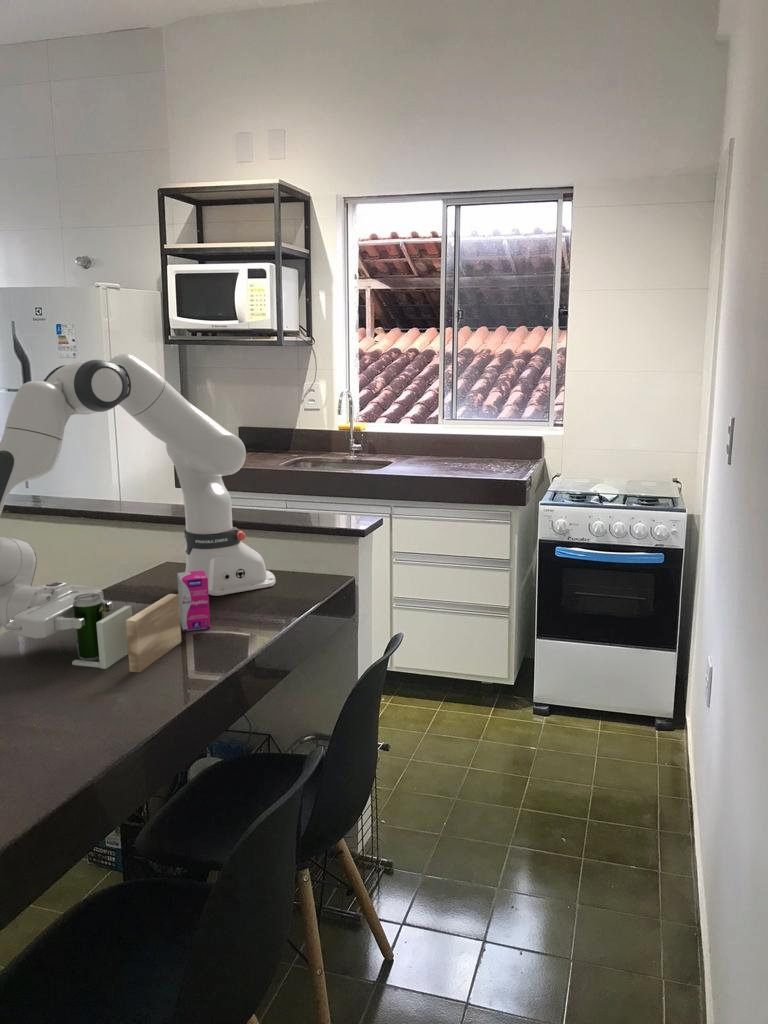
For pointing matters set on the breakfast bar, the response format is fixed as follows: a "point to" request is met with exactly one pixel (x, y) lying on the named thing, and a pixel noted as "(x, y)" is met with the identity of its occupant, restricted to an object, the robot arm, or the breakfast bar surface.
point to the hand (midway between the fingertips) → (97, 614)
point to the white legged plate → (110, 639)
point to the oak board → (153, 632)
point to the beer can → (88, 624)
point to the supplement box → (193, 600)
